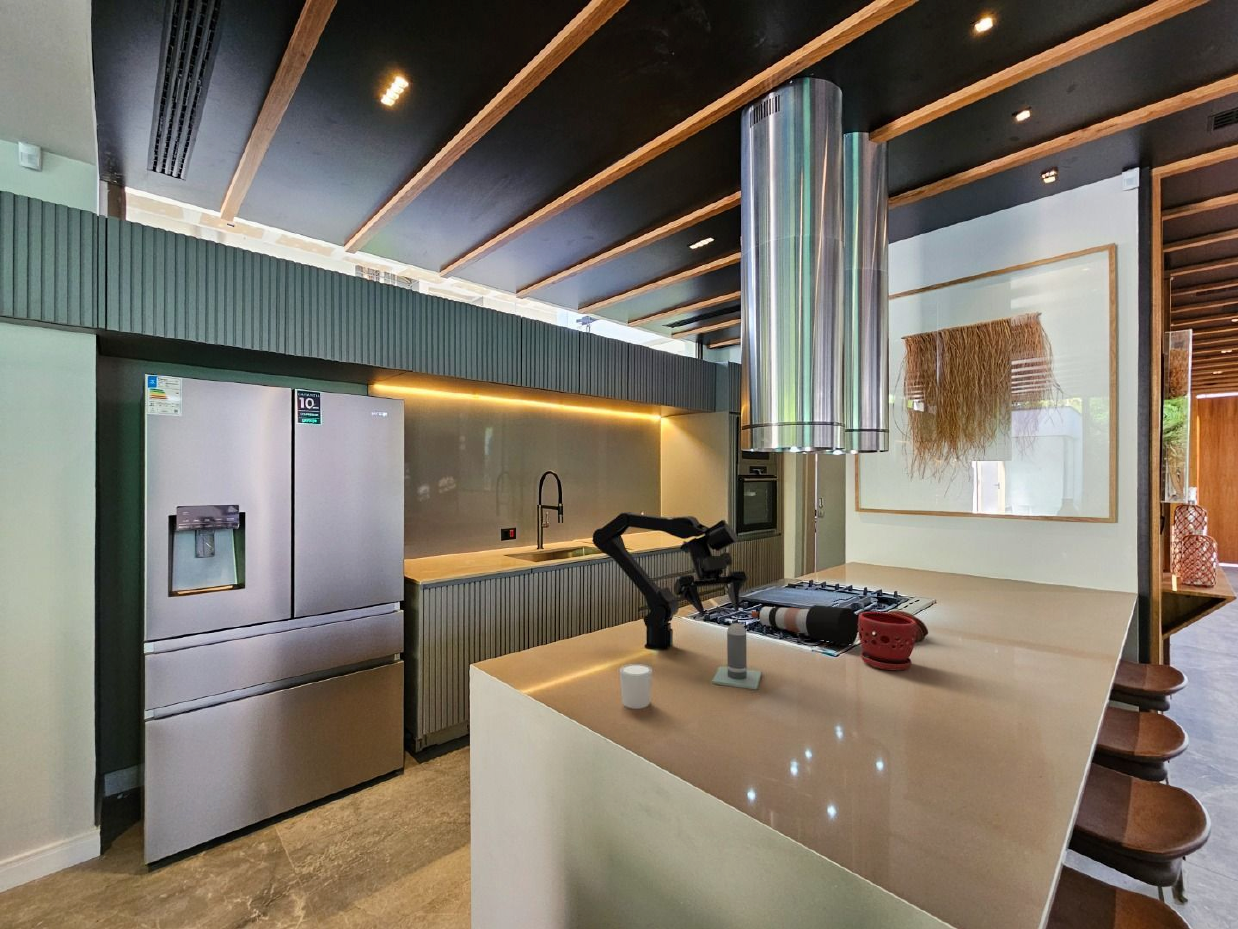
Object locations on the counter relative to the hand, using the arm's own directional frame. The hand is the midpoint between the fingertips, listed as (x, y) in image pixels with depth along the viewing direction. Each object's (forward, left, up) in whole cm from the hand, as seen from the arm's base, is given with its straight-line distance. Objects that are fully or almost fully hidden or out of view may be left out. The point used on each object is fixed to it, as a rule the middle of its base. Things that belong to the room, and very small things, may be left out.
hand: (720, 612), depth 135 cm
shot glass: (-13, -27, -14) cm, 33 cm away
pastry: (+46, +44, -14) cm, 65 cm away
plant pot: (+39, +17, -14) cm, 44 cm away
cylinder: (+5, -6, -13) cm, 15 cm away
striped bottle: (+17, +36, -14) cm, 42 cm away
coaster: (+5, -6, -13) cm, 16 cm away
